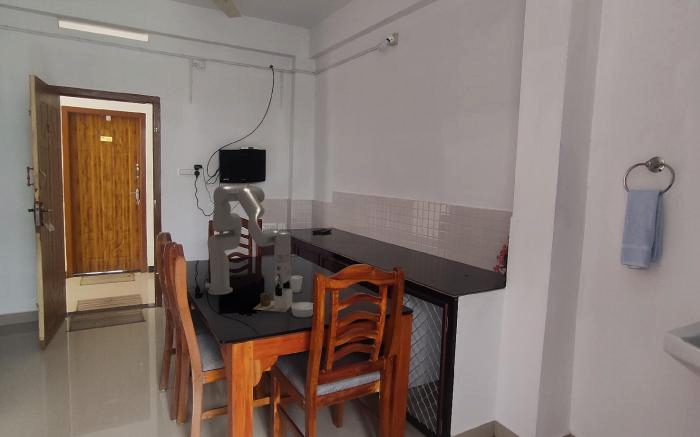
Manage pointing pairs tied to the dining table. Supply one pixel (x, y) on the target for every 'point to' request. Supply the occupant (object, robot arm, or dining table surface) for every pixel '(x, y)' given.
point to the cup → (296, 283)
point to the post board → (271, 307)
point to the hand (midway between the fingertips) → (282, 292)
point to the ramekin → (302, 309)
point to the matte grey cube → (283, 299)
